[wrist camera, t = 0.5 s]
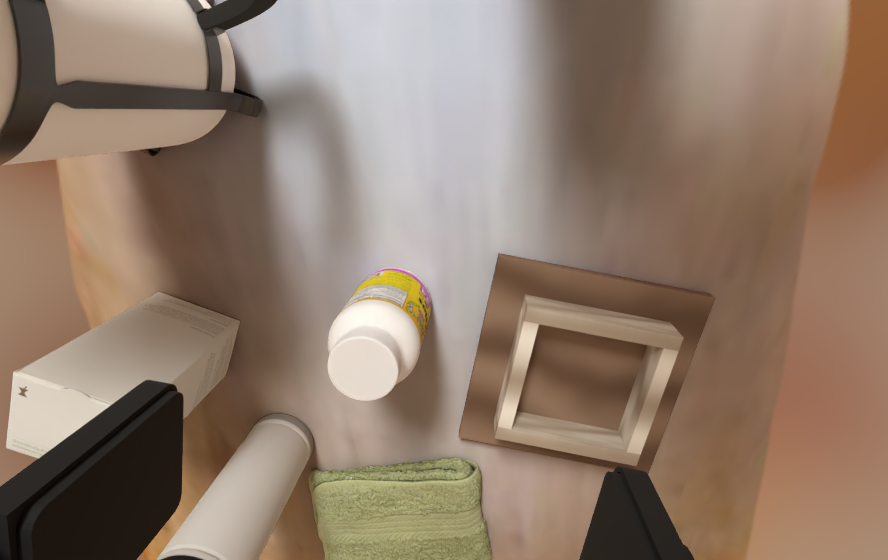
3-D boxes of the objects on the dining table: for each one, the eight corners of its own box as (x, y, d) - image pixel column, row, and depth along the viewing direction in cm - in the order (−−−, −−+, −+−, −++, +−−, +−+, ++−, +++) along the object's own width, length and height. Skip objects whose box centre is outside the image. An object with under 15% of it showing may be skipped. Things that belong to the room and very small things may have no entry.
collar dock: (498, 253, 42) (500, 267, 39) (709, 293, 42) (732, 311, 38) (459, 431, 48) (457, 458, 45) (644, 467, 48) (658, 498, 44)
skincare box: (146, 345, 48) (-3, 449, 33) (159, 285, 46) (5, 367, 31) (230, 377, 48) (119, 493, 34) (246, 318, 46) (135, 415, 32)
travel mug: (238, 423, 50) (89, 613, 31) (296, 404, 49) (178, 589, 30) (268, 473, 52) (144, 682, 33) (325, 455, 50) (229, 662, 32)
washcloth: (306, 462, 51) (295, 484, 48) (478, 448, 49) (478, 471, 46) (334, 562, 55) (325, 588, 52) (494, 553, 53) (495, 579, 50)
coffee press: (237, 202, 43) (-248, 380, 14) (61, 99, 41) (-875, 74, 13) (326, 4, 37) (-162, -331, 9) (129, -123, 36) (-1217, -1011, 7)
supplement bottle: (424, 342, 46) (402, 425, 34) (352, 325, 46) (305, 403, 34) (439, 274, 44) (422, 336, 31) (365, 256, 44) (319, 312, 31)
